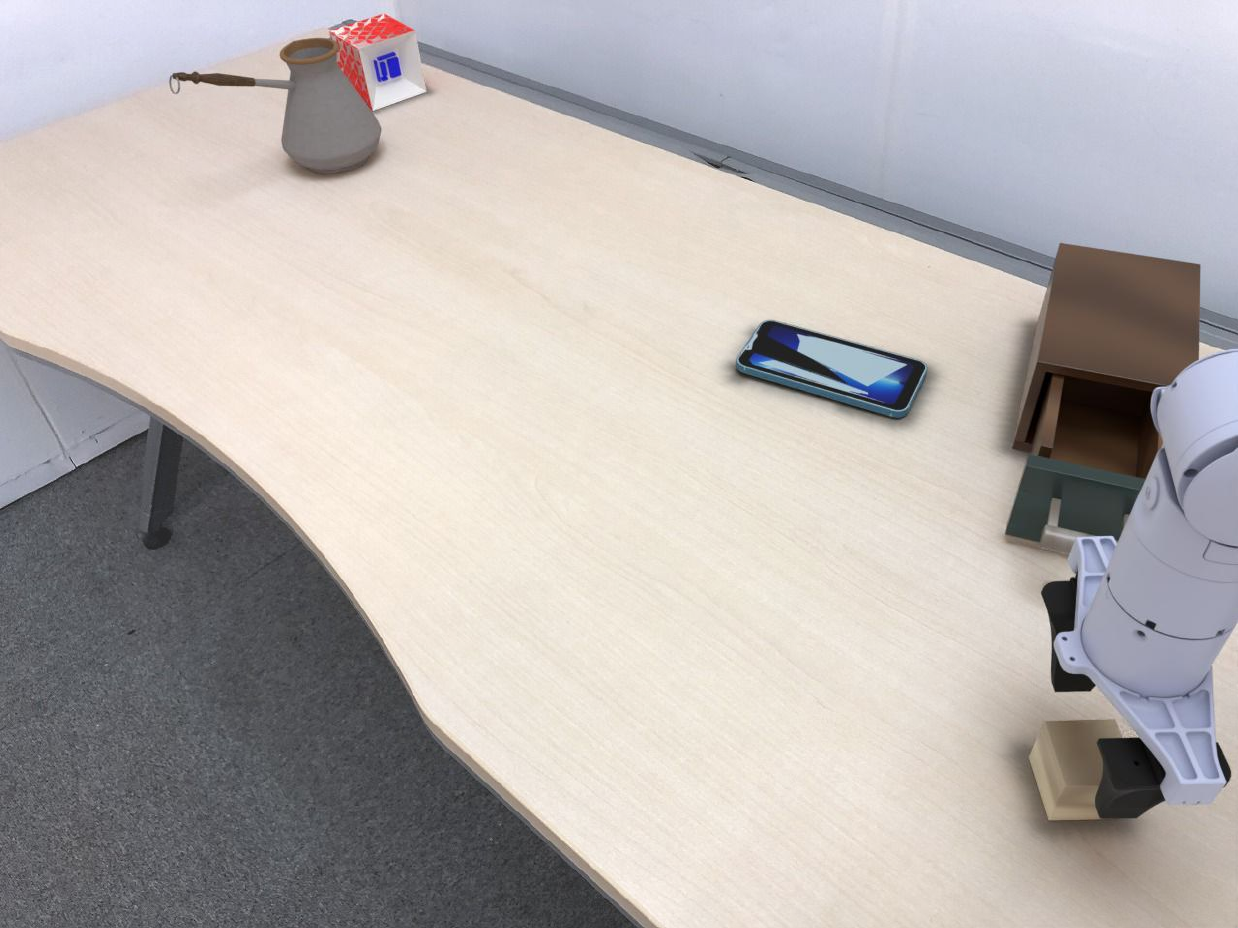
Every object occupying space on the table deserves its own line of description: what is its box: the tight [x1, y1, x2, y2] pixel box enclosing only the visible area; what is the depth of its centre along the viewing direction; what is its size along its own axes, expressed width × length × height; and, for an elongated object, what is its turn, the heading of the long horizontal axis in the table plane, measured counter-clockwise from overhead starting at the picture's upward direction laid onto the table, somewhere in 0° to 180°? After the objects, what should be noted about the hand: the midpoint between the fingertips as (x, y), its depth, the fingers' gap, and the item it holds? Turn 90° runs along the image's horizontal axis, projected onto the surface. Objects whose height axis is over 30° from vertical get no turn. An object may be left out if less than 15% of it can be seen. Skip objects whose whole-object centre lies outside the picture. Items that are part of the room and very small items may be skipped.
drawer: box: [1004, 372, 1163, 556], centre depth 72 cm, size 20×9×7 cm, turn 158°
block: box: [1028, 718, 1123, 821], centre depth 58 cm, size 4×4×4 cm
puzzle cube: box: [328, 13, 428, 112], centre depth 131 cm, size 8×8×8 cm
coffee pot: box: [168, 37, 383, 175], centre depth 113 cm, size 21×12×15 cm, turn 131°
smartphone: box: [735, 319, 929, 418], centre depth 87 cm, size 7×1×15 cm
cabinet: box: [1011, 242, 1202, 453], centre depth 81 cm, size 17×11×9 cm, turn 158°
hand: (1092, 746), depth 56 cm, fingers open, 7 cm apart
